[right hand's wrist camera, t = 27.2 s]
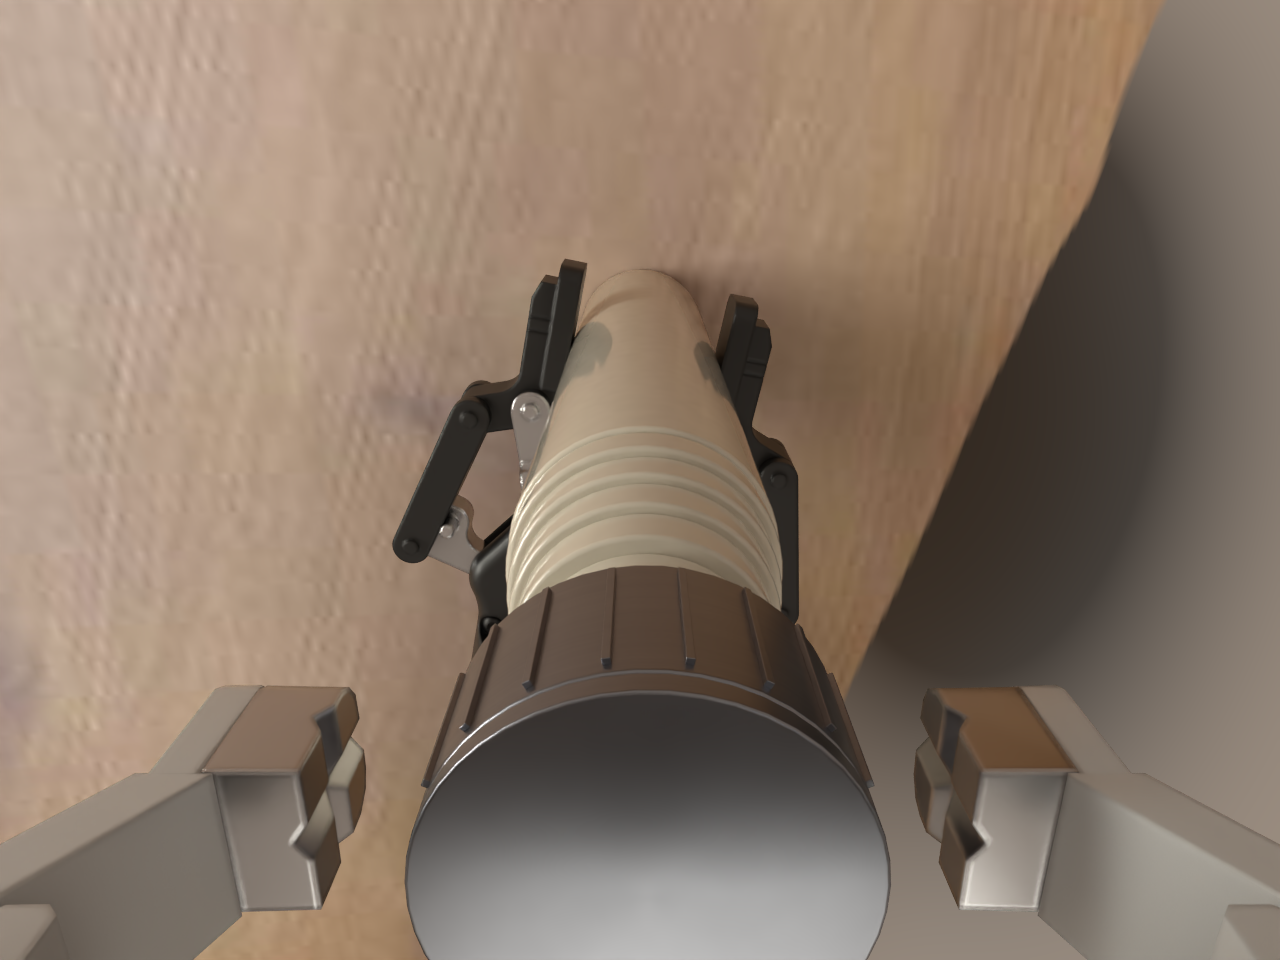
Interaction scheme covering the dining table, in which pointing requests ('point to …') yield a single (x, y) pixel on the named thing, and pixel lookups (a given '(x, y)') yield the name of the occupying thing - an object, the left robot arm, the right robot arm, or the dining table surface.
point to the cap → (647, 786)
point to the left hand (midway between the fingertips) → (658, 284)
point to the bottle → (642, 455)
